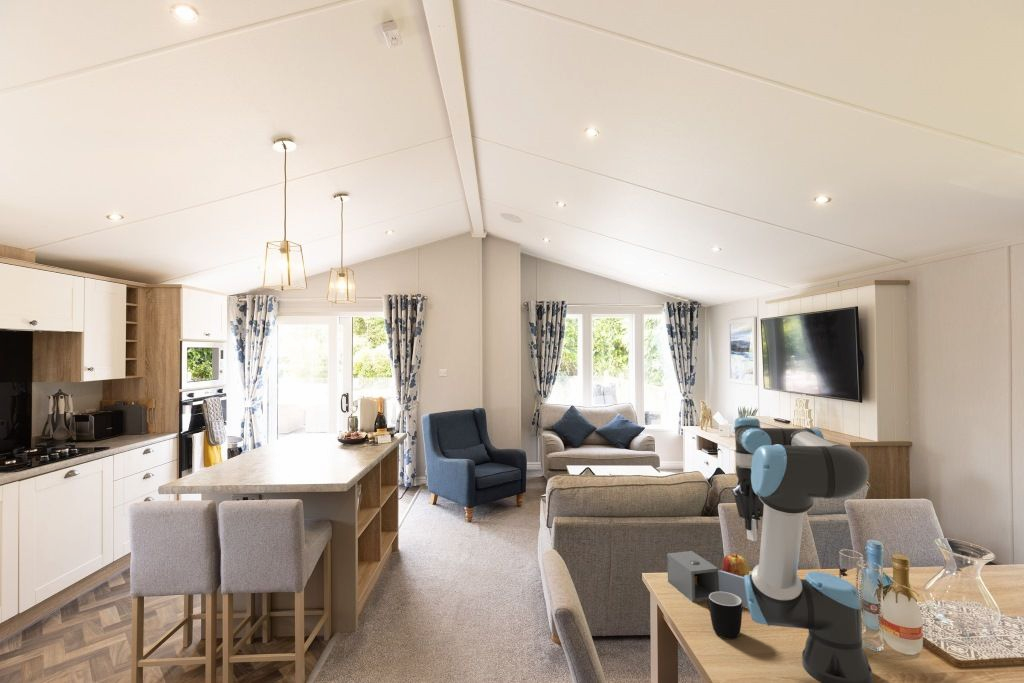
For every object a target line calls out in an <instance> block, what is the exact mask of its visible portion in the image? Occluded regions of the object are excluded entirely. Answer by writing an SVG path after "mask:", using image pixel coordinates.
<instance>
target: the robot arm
mask: <svg viewBox="0 0 1024 683" xmlns="http://www.w3.org/2000/svg"><path fill="white" fill-rule="evenodd" d="M760 423H761V422H760V420H759V418H756V417H737V418H735V419H734V427H733V429H734V440H735V441H734V442H735V462H736V463H735V464H736V465H737V466H736V467H735V468H736V469H735V470H736V477H737V479H738V480H737V486H736V487H734V488H733V487H732V488H731V493H732V495H733V497H734V500H735V501H734V502H735V504H736V508H737V513H738V516H739V518H742V519H744V527H745V530H746V539H747V540H749V541H752V542H758V534H757V533H758V531H757V530H758V528H759V524H758V522H759V521H760V520H761V518H762V523H761V524H762V526H761V534H760V550H759V558H758V561H759V562H758V564H756V565H755V566H754V567H753V568H752V572H751V573H749V574H748V575H745V576H744V584H745V591H746V596H747V602H748V606H749V608H748V611H749V614H750V617H751V620H752V621H753V622H754V623H756V624H761V625H766V626H768V627H769V626H771V627H784V628H795V629H803V630H804V629H805V630H808V636H807V639H806V641H805V646H804V649H803V650H802V653H801V659H802V660H801V662H802V666H803V668H804V670H805V671H806V672H807V673H808V674H809V675H811V677H813V678H814V679H816V680H818V681H820V682H821V683H874V681H873V680H874V678H873V670H872V667H871V665H870V664H869V661H868V657H867V654H866V652H865V650H864V647H863V633H862V632H863V631H862V608H863V607H862V604H861V596H860V591H859V590H858V588H857V587H856V586H855V585H854V584H853V583H851V582H849V581H848V580H846V579H844V578H842V577H840V576H836V575H834V574H831V573H827V572H824V571H823V572H822V571H809V572H807V573H805V577H804V579H802V578H800V577H799V575H798V568H799V567H798V566H799V559H800V550H801V544H802V537H803V536H802V534H803V528H804V520H805V519H804V518H805V513H807V512H809V511H811V509H812V508H813V506H814V502H815V500H814V499H824V500H825V499H827V500H828V499H829V500H830V499H831V500H836V499H837V500H839V499H844V498H847V497H848V498H849V497H852V496H853V495H855V494H857V493H859V492H860V491H862V489H863V488H864V487H865V486H866V484H867V482H868V481H869V476H870V467H869V464H868V462H867V460H866V459H865V457H864V456H863V455H862V454H861V453H860V452H858V451H857V450H855V449H854V448H851V447H849V446H847V445H843V444H834V443H833V442H830V441H828V440H826V439H825V437H824V434H823V432H822V431H821V429H819V428H809V427H804V428H803V427H799V428H795V427H794V428H792V427H791V428H790V427H789V428H788V427H786V428H785V427H784V428H783V427H761V424H760Z"/></svg>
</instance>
